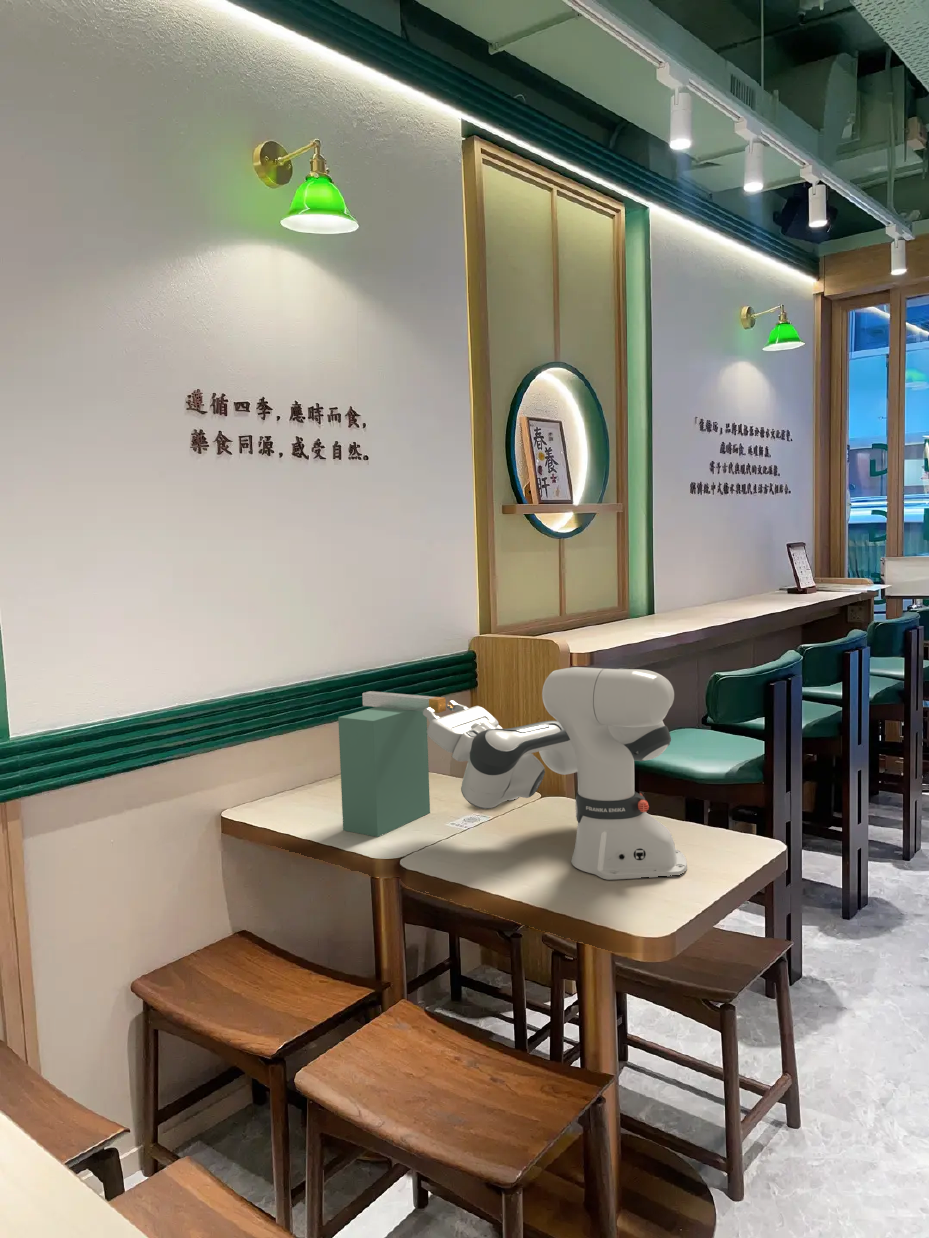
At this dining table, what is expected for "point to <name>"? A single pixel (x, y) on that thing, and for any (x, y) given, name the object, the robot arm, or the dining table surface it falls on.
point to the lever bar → (403, 701)
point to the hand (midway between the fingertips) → (437, 706)
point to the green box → (383, 769)
